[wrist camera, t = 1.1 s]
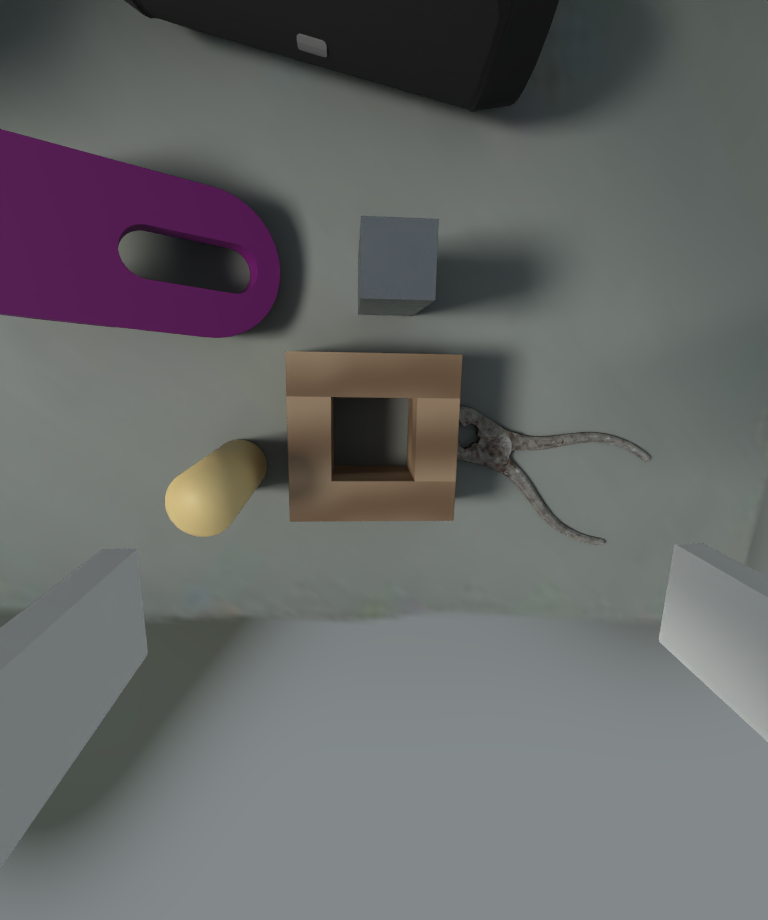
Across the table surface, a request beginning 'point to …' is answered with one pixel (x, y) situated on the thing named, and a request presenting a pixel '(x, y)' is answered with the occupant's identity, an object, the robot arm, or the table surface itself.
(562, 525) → the pliers
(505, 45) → the portable speaker
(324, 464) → the socket block
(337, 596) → the table surface
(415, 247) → the square peg
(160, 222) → the mounting bracket
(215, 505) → the round peg
